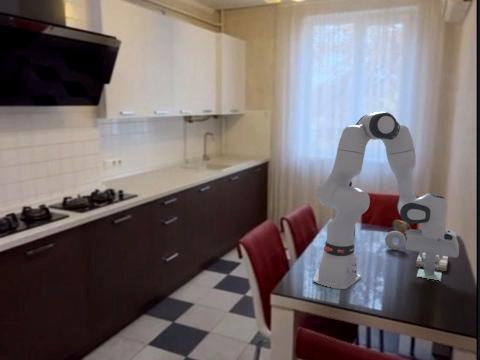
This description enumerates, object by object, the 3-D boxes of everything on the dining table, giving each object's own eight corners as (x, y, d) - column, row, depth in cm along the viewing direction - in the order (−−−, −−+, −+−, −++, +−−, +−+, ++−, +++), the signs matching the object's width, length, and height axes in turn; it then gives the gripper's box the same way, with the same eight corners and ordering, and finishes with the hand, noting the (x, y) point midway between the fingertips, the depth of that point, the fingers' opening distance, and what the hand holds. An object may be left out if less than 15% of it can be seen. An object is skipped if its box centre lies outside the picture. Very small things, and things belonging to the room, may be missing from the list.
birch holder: (446, 272, 170) (446, 265, 170) (416, 266, 176) (416, 260, 175) (447, 260, 184) (448, 254, 183) (419, 255, 190) (420, 250, 189)
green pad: (440, 281, 160) (440, 280, 160) (416, 277, 165) (416, 275, 164) (441, 274, 168) (441, 272, 168) (418, 270, 172) (419, 268, 172)
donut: (405, 250, 198) (406, 231, 196) (405, 252, 195) (406, 233, 193) (384, 247, 201) (385, 229, 200) (384, 249, 198) (385, 230, 197)
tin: (391, 231, 230) (391, 217, 228) (395, 231, 230) (396, 217, 229) (406, 239, 215) (407, 224, 214) (411, 239, 215) (412, 224, 214)
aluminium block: (434, 274, 163) (436, 254, 162) (423, 273, 165) (425, 252, 164) (434, 271, 167) (436, 251, 165) (424, 269, 169) (426, 250, 167)
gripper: (405, 229, 165) (402, 260, 168) (460, 237, 155) (456, 270, 158) (407, 226, 171) (404, 256, 173) (460, 233, 161) (457, 265, 163)
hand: (430, 263), depth 165 cm, fingers closed on aluminium block, 4 cm apart
